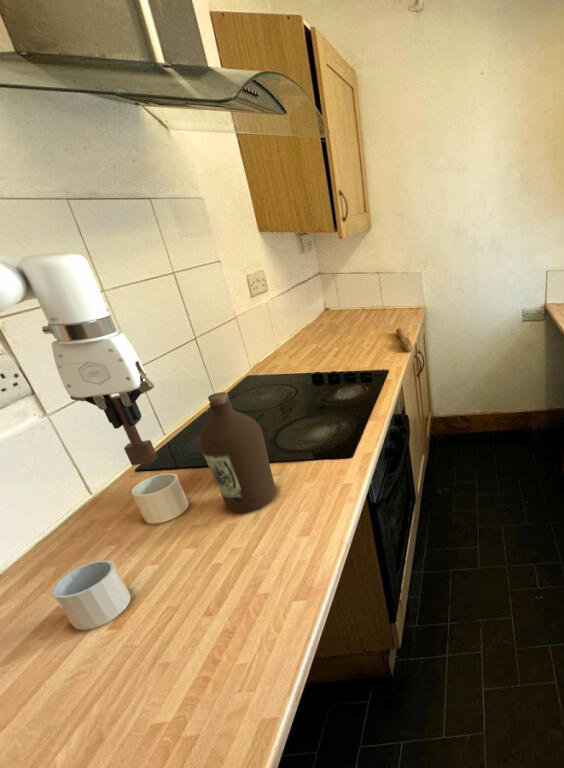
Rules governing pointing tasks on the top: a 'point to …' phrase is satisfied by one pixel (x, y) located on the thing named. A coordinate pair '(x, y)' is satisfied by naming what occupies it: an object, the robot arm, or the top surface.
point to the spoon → (134, 439)
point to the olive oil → (237, 457)
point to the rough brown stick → (404, 340)
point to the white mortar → (92, 594)
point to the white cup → (160, 498)
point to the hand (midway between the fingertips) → (127, 423)
